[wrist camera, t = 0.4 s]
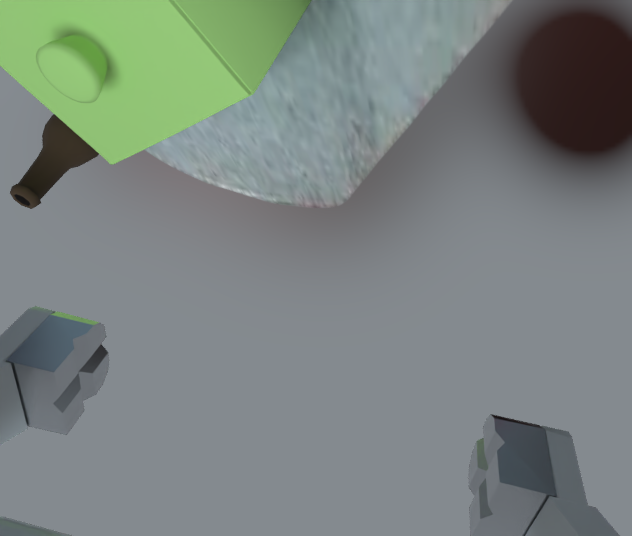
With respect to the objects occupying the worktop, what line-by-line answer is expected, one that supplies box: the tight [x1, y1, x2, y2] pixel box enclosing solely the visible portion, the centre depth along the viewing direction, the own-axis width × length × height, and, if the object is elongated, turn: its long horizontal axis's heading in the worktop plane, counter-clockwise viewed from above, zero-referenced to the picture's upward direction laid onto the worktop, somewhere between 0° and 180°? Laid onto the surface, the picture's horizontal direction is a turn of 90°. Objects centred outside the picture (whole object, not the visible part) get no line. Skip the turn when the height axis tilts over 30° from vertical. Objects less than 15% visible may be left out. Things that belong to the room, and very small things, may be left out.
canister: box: [0, 0, 311, 165], centre depth 56 cm, size 25×21×23 cm
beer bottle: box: [10, 114, 99, 209], centre depth 77 cm, size 8×8×24 cm
